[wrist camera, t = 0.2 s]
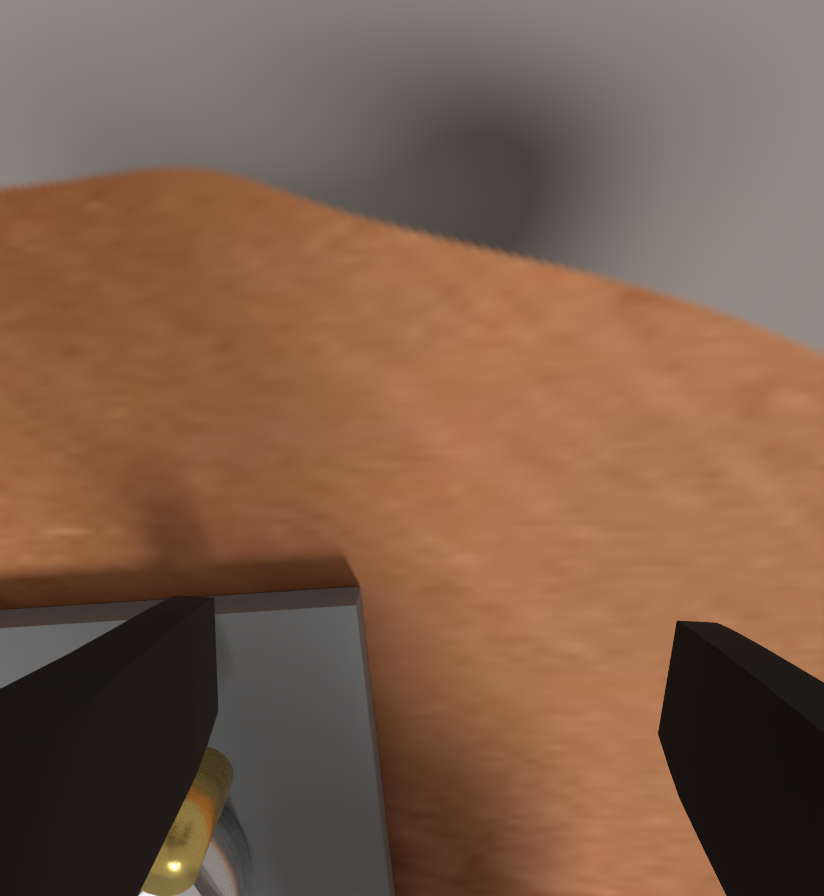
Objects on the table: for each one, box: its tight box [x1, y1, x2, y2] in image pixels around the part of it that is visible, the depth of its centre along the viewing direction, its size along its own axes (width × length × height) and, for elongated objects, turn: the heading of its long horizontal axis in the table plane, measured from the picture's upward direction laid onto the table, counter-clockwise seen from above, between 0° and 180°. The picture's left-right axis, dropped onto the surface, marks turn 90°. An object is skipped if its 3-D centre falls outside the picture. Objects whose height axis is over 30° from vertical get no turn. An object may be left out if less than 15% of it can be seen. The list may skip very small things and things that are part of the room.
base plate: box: [0, 586, 395, 896], centre depth 23 cm, size 18×18×1 cm
